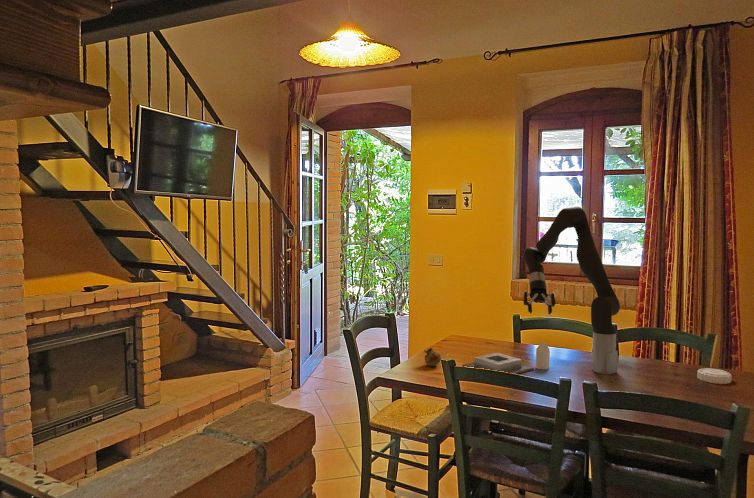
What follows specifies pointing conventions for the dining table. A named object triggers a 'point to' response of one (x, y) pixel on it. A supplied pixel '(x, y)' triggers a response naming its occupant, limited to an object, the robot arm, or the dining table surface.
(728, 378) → the mooncake
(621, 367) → the dining table surface
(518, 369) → the socket
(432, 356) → the onion
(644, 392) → the dining table surface
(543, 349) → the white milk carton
